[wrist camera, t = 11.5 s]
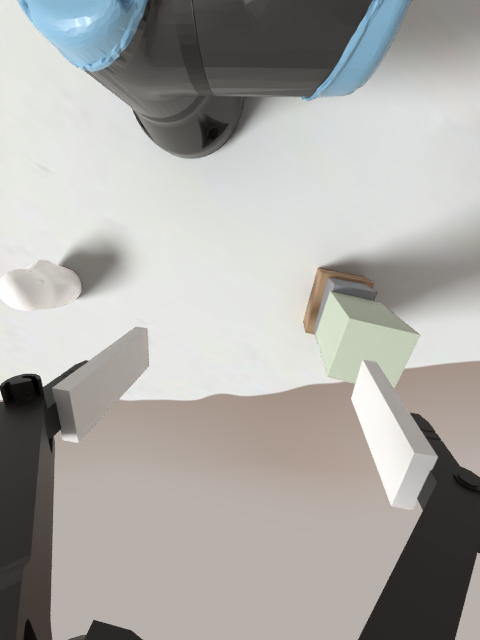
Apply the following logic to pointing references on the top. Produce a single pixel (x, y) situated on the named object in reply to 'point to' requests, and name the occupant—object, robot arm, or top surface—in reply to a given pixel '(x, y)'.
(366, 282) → the tower base
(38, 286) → the figurine
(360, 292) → the tower top
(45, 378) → the top surface
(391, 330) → the sage block
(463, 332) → the top surface
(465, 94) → the top surface
